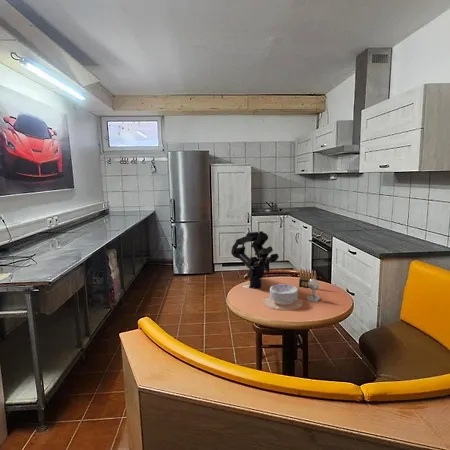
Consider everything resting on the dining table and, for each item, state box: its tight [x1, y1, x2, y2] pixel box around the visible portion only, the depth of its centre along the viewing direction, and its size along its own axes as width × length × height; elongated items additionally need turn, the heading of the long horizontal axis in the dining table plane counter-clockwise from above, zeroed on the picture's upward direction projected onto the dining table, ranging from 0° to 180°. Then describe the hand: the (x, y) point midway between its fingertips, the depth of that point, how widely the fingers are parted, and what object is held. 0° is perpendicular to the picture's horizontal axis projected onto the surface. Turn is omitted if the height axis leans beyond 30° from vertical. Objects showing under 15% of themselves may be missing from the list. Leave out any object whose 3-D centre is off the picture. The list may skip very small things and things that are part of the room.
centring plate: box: [262, 295, 304, 311], centre depth 183 cm, size 22×22×1 cm
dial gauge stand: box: [306, 278, 321, 303], centre depth 186 cm, size 6×6×12 cm
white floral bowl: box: [269, 283, 299, 305], centre depth 182 cm, size 15×15×8 cm
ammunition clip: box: [298, 268, 317, 289], centre depth 205 cm, size 11×2×12 cm, turn 59°
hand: (268, 271), depth 194 cm, fingers closed
